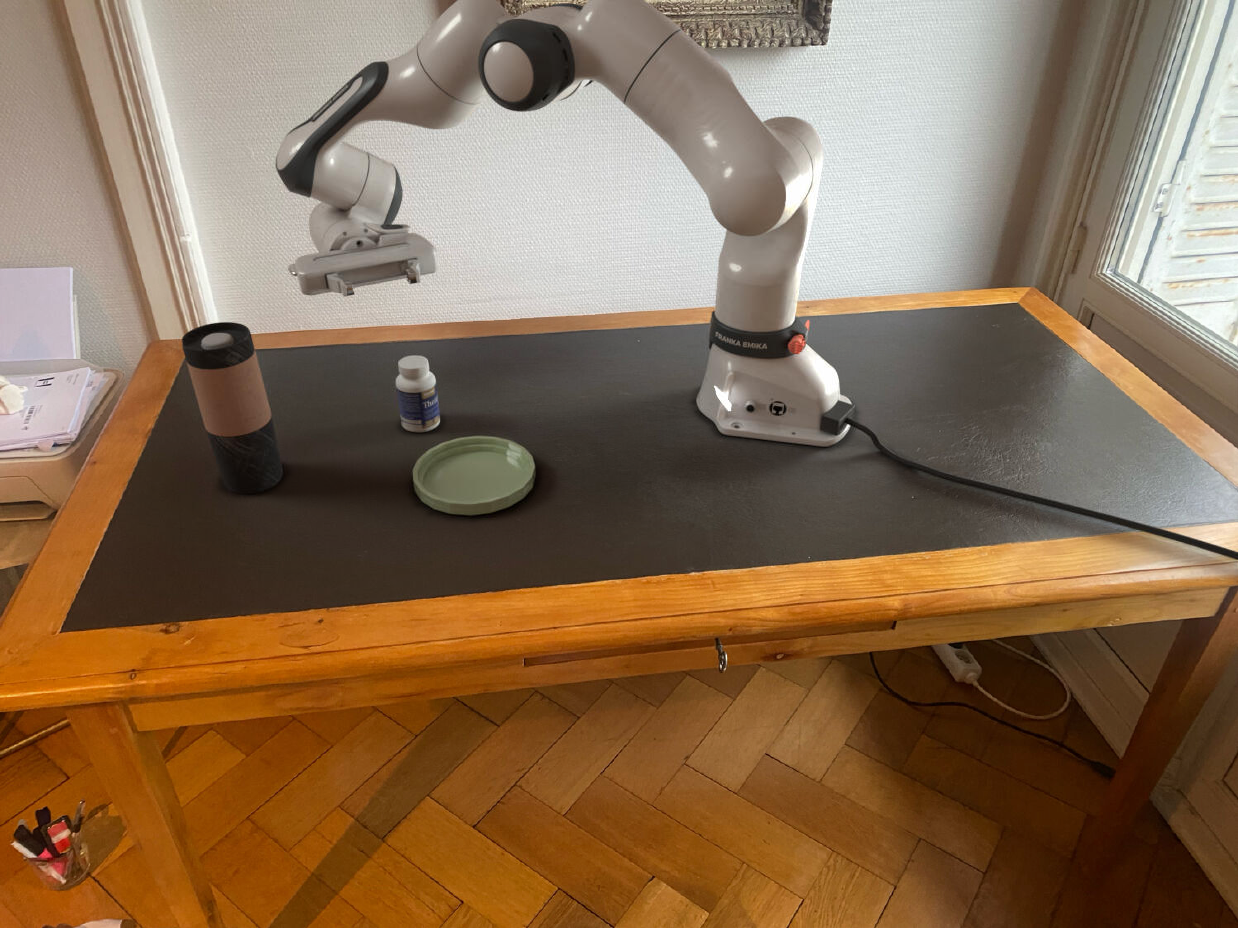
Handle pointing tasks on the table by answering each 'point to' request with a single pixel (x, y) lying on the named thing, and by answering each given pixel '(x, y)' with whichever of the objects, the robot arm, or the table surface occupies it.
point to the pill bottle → (417, 395)
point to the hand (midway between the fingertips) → (382, 284)
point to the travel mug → (234, 405)
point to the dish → (474, 475)
